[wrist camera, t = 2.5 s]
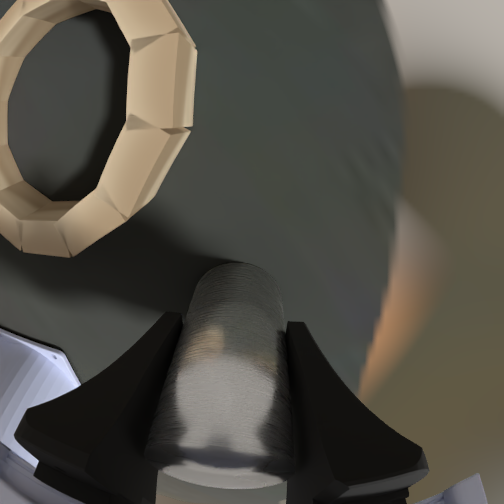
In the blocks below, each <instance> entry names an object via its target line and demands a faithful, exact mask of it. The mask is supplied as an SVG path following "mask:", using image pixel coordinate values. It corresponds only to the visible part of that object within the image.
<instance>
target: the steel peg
mask: <svg viewBox="0 0 504 504" xmlns="http://www.w3.org/2000/svg"><path fill="white" fill-rule="evenodd" d="M144 456H145V458H146V460H147V461H148V462H149V463H150V464H151V465H152V466H154V467H155V468H156V469H158V470H160V471H162V472H163V473H166V474H168V475H170V476H172V477H175V478H177V479H180V480H183V481H187V482H190V483H194V484H198V485H203V486H209V487H216V488H227V489H251V488H261V487H267V486H272V485H275V484H279V483H282V482H284V481H286V480H288V479H290V478H291V477H292V476H293V475H294V474H295V456H294V439H293V424H292V410H291V396H290V383H289V371H288V359H287V348H286V337H285V326H284V315H283V305H282V295H281V291H280V288H279V286H278V284H277V283H276V281H275V280H274V279H273V277H272V276H271V275H269V274H268V273H267V272H266V271H264V270H263V269H261V268H259V267H256V266H254V265H251V264H247V263H237V262H233V263H226V264H221V265H218V266H216V267H214V268H212V269H210V270H209V271H207V272H206V273H205V274H204V275H203V276H202V277H201V279H200V280H199V282H198V284H197V286H196V289H195V292H194V295H193V297H192V300H191V303H190V306H189V309H188V312H187V315H186V318H185V321H184V324H183V327H182V330H181V333H180V336H179V339H178V342H177V345H176V348H175V351H174V354H173V357H172V360H171V364H170V367H169V370H168V373H167V376H166V380H165V383H164V386H163V389H162V393H161V396H160V399H159V403H158V406H157V409H156V413H155V416H154V420H153V423H152V427H151V430H150V434H149V438H148V441H147V445H146V448H145V452H144Z"/></svg>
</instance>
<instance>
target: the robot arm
mask: <svg viewBox="0 0 504 504" xmlns="http://www.w3.org/2000/svg"><path fill="white" fill-rule="evenodd" d="M182 327H183V322H182V313H175V312H165V313H164V314H163V315H162V316H161V317H160V318H159V320H158V321H157V322H156V323H155V324H154V325H153V326H152V327H151V328H150V329H149V330H148V331H147V332H146V333H145V334H144V335H143V336H142V337H141V338H140V339H139V340H138V341H137V342H136V343H135V344H134V345H133V346H132V347H131V348H130V349H129V350H127V351H126V352H125V353H124V354H123V355H122V356H121V357H120V358H118V359H117V360H116V361H115V362H114V363H112V364H111V365H110V366H109V367H107V368H106V369H105V370H103V371H102V372H100V373H99V374H98V375H96V376H95V377H93V378H92V379H90V380H88V381H87V382H85V383H83V384H82V385H81V384H80V382H79V380H78V378H77V377H76V375H75V373H74V371H73V369H72V367H71V365H70V363H69V361H68V359H67V357H66V356H65V354H64V353H63V352H61V351H60V350H57V349H54V348H51V347H48V346H45V345H42V344H39V343H36V342H33V341H31V340H28V339H25V338H23V337H20V336H18V335H15V334H13V333H10V332H8V331H5V330H3V329H1V328H0V504H155V501H156V486H157V475H158V469H156V468H155V467H154V466H152V465H151V464H150V463H149V462H148V461H147V460H146V458H145V456H144V452H145V448H146V445H147V441H148V438H149V434H150V430H151V427H152V423H153V420H154V416H155V413H156V409H157V406H158V403H159V399H160V396H161V393H162V389H163V386H164V383H165V380H166V376H167V373H168V370H169V367H170V364H171V360H172V357H173V354H174V351H175V348H176V345H177V342H178V339H179V336H180V333H181V330H182ZM285 337H286V348H287V359H288V371H289V383H290V396H291V410H292V424H293V439H294V456H295V474H294V475H293V476H292V477H291V478H290V479H288V480H287V498H286V504H407V503H406V499H405V498H407V497H409V491H408V487H410V486H411V485H413V484H415V483H416V482H418V481H419V480H421V479H422V478H424V477H425V476H426V475H427V474H428V472H429V468H428V464H427V460H426V457H425V454H424V452H423V449H422V448H421V447H420V446H418V445H417V444H415V443H413V442H412V441H410V440H408V439H407V438H405V437H403V436H402V435H400V434H399V433H397V432H396V431H395V430H393V429H392V428H390V427H389V426H388V425H386V424H385V423H384V422H383V421H382V420H380V419H379V418H378V417H377V416H376V415H375V414H373V413H372V412H371V411H370V410H369V409H368V408H367V407H366V406H365V405H364V404H363V403H362V402H361V401H360V400H359V399H358V398H357V397H356V396H355V395H354V394H353V393H352V392H351V391H350V389H349V388H348V387H347V386H346V385H345V384H344V382H343V381H342V380H341V379H340V377H339V376H338V375H337V373H336V372H335V371H334V369H333V368H332V367H331V365H330V364H329V362H328V361H327V359H326V358H325V356H324V355H323V353H322V352H321V350H320V349H319V347H318V345H317V344H316V342H315V340H314V339H313V337H312V335H311V333H310V331H309V330H308V328H307V326H306V324H305V323H304V322H290V321H288V323H287V329H286V334H285ZM414 504H488V503H487V499H486V495H485V492H484V488H483V485H482V482H481V479H480V475H479V473H476V474H475V475H473V476H471V477H469V478H467V479H465V480H463V481H461V482H459V483H457V484H455V485H453V486H451V487H450V488H448V489H446V490H445V491H444V492H442V493H440V494H437V495H435V496H432V497H430V498H427V499H425V500H423V501H419V502H417V503H414Z"/></svg>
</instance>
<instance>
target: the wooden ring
mask: <svg viewBox="0 0 504 504" xmlns="http://www.w3.org/2000/svg"><path fill="white" fill-rule="evenodd" d="M95 9H99V10H103V11H106V12H110V13H112V14H113V15H114V17H115V19H116V21H117V23H118V25H119V27H120V29H121V30H122V32H123V34H124V36H125V38H126V40H127V42H128V43H129V45H130V47H131V50H130V60H129V71H128V85H127V107H126V123H125V125H124V127H123V129H122V131H121V133H120V135H119V137H118V139H117V141H116V143H115V145H114V148H113V150H112V152H111V154H110V157H109V159H108V161H107V164H106V166H105V168H104V171H103V173H102V176H101V178H100V181H99V183H98V186H97V188H96V189H95V190H94V191H92V192H91V193H90V194H89V195H87V196H86V197H85V198H84V199H82V200H81V201H51V200H50V199H48V198H47V197H46V196H44V195H43V194H41V193H40V192H39V191H37V190H36V189H35V188H33V187H32V186H31V185H29V184H28V183H27V182H25V181H24V180H23V178H22V176H21V174H20V171H19V169H18V167H17V165H16V162H15V160H14V158H13V155H12V153H11V151H10V148H9V146H8V135H7V111H8V99H9V96H10V93H11V90H12V87H13V85H14V82H15V79H16V77H17V74H18V72H19V69H20V67H21V65H22V62H23V60H24V58H25V57H26V55H27V54H28V53H29V52H30V51H31V50H32V49H33V47H34V46H35V45H36V44H37V43H38V42H39V41H40V40H41V39H42V38H43V37H44V36H45V35H46V34H47V33H48V32H49V31H50V30H51V29H52V28H53V27H54V26H55V25H56V24H57V23H60V22H62V21H65V20H67V19H70V18H72V17H75V16H78V15H80V14H83V13H86V12H89V11H92V10H95ZM195 47H196V45H195V44H194V42H193V40H192V39H191V37H190V35H189V34H188V32H187V30H186V29H185V27H184V25H183V24H182V22H181V21H180V19H179V17H178V16H177V14H176V12H175V11H174V9H173V8H172V6H171V5H170V3H169V1H168V0H17V1H16V2H15V3H14V5H13V6H12V7H11V8H10V9H9V10H8V12H7V13H6V14H5V15H4V16H3V18H2V19H1V20H0V233H1V234H2V235H3V236H4V237H5V238H6V239H7V240H8V241H10V242H11V243H12V244H13V245H14V246H15V247H16V248H18V249H19V250H20V251H21V250H22V249H23V252H25V253H34V254H42V255H51V256H59V257H69V258H70V257H71V256H72V255H73V257H74V256H75V255H77V254H78V253H80V252H81V251H82V250H84V249H85V248H87V247H88V246H90V245H91V244H92V243H94V242H95V241H97V240H98V239H100V238H101V237H103V236H104V235H106V234H107V233H109V232H110V231H112V230H113V229H115V228H117V227H118V226H120V225H121V224H123V223H124V222H126V221H127V220H128V219H129V218H130V217H132V216H133V215H134V214H135V213H136V212H138V211H139V210H140V209H141V208H142V207H144V206H145V205H146V204H147V203H148V202H150V201H151V199H152V198H153V197H155V195H156V193H157V191H158V189H159V187H160V185H161V183H162V181H163V179H164V178H165V176H166V174H167V172H168V170H169V168H170V167H171V165H172V163H173V161H174V160H175V158H176V156H177V154H178V153H179V151H180V149H181V147H182V146H183V144H184V142H185V141H186V139H187V137H188V136H189V134H190V132H191V131H189V130H188V129H186V128H184V127H189V126H193V107H194V89H195V74H196V61H197V50H196V49H195Z"/></svg>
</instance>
